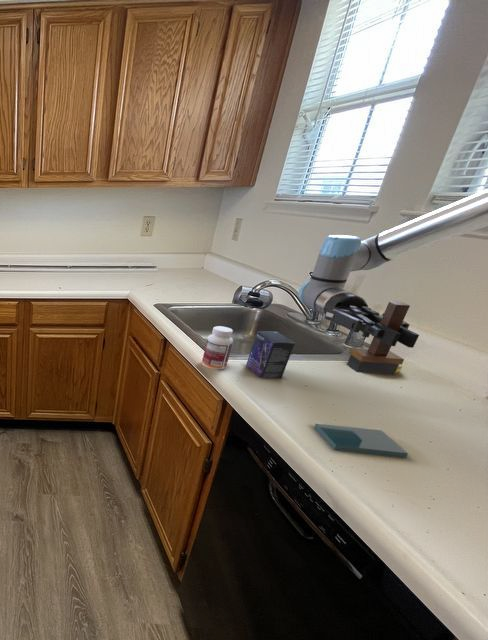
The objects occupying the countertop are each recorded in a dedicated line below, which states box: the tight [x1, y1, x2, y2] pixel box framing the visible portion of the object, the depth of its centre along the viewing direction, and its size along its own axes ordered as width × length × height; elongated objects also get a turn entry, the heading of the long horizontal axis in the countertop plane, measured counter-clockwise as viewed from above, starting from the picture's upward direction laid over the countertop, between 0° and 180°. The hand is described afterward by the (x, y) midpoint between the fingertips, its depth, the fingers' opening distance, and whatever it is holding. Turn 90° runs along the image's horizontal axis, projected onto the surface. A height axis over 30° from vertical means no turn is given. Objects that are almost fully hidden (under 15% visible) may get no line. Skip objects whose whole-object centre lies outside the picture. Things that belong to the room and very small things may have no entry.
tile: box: [313, 423, 409, 459], centre depth 83 cm, size 12×8×2 cm, turn 78°
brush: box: [346, 301, 411, 376], centre depth 88 cm, size 8×5×15 cm, turn 78°
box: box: [245, 330, 296, 379], centre depth 110 cm, size 8×6×11 cm
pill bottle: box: [201, 325, 234, 370], centre depth 114 cm, size 6×6×11 cm
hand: (404, 340), depth 82 cm, fingers closed on brush, 2 cm apart
